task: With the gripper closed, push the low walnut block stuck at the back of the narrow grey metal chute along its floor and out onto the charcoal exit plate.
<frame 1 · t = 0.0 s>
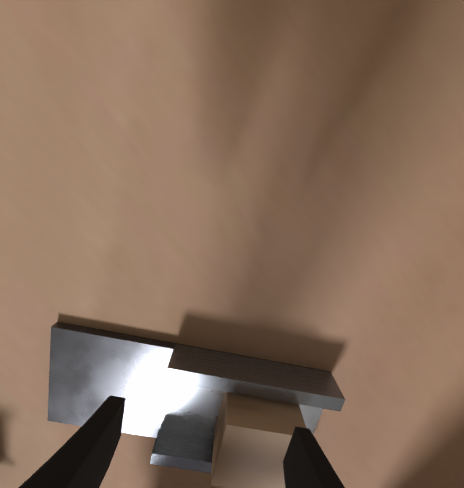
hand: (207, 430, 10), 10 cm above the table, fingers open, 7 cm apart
walnut block: (253, 412, 21), point 1 cm above the table, touching chute
chute: (199, 395, 22), on the table
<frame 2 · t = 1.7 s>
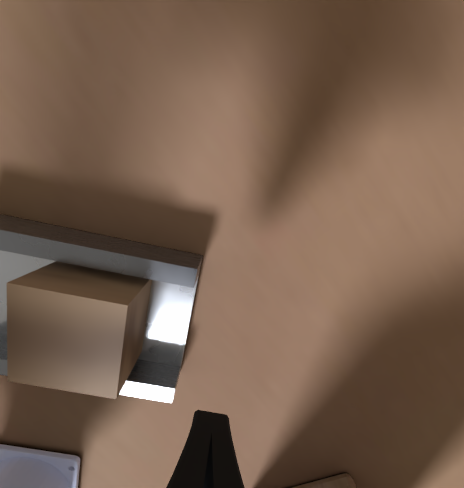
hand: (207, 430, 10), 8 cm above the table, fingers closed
walnut block: (103, 307, 17), point 1 cm above the table, touching chute
chute: (39, 288, 17), on the table
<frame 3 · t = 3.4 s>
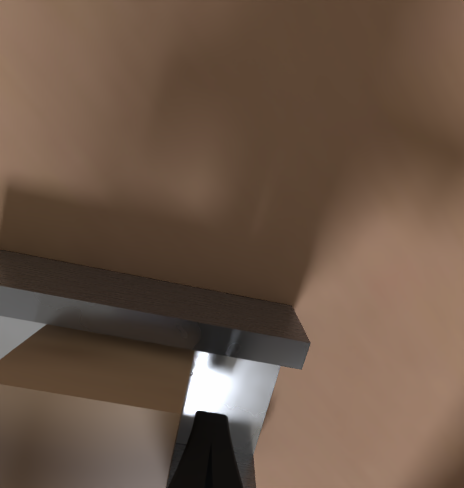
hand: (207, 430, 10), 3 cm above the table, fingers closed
walnut block: (126, 374, 12), point 1 cm above the table, touching gripper
chute: (58, 351, 12), on the table
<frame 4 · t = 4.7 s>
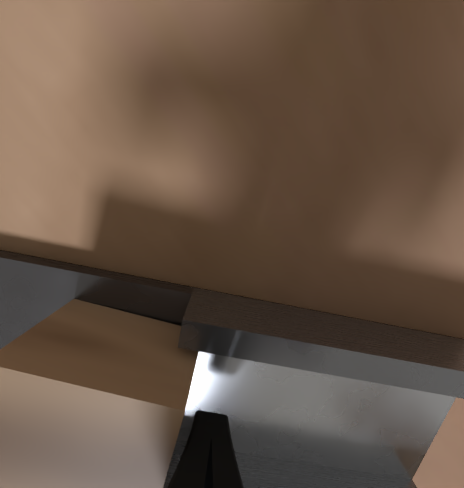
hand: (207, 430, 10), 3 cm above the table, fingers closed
walnut block: (128, 368, 12), point 1 cm above the table, touching gripper
chute: (234, 381, 13), on the table
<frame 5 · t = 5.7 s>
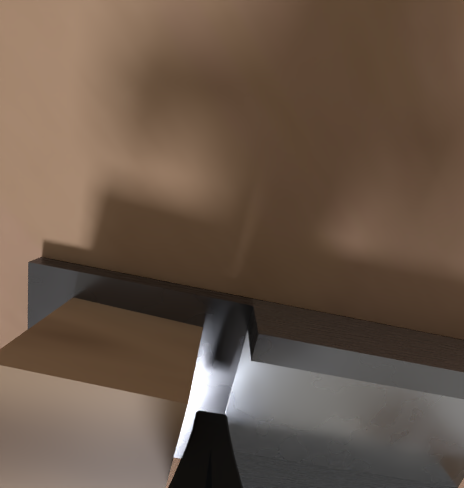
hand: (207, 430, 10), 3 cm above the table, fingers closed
walnut block: (129, 366, 12), point 1 cm above the table, touching chute, gripper
chute: (285, 390, 13), on the table
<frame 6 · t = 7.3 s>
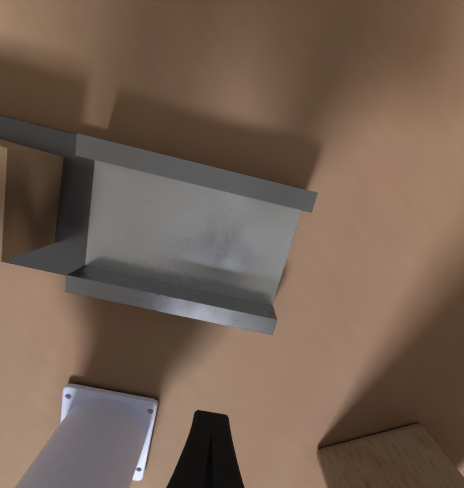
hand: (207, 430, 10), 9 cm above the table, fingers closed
wooden block: (375, 468, 23), on the table
walnut block: (13, 189, 16), point 1 cm above the table, touching chute
chute: (138, 222, 17), on the table
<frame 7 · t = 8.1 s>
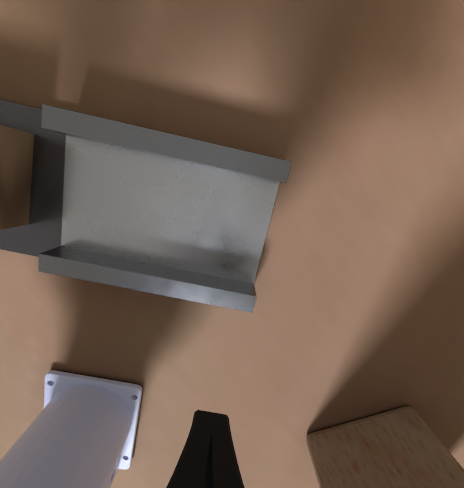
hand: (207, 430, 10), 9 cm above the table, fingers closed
wooden block: (366, 453, 23), on the table
chute: (114, 202, 17), on the table
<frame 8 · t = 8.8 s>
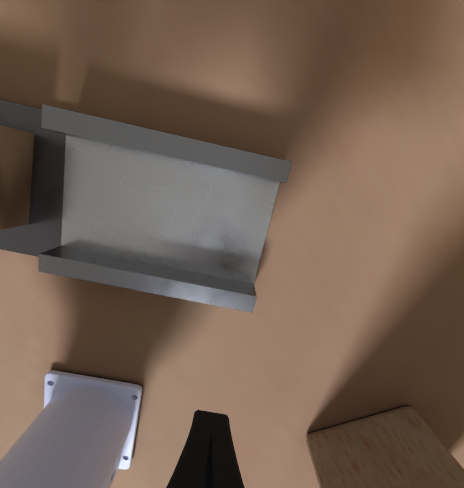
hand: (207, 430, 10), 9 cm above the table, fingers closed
wooden block: (366, 453, 23), on the table
chute: (114, 202, 17), on the table
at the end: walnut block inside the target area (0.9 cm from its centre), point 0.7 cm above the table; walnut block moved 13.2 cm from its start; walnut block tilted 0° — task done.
